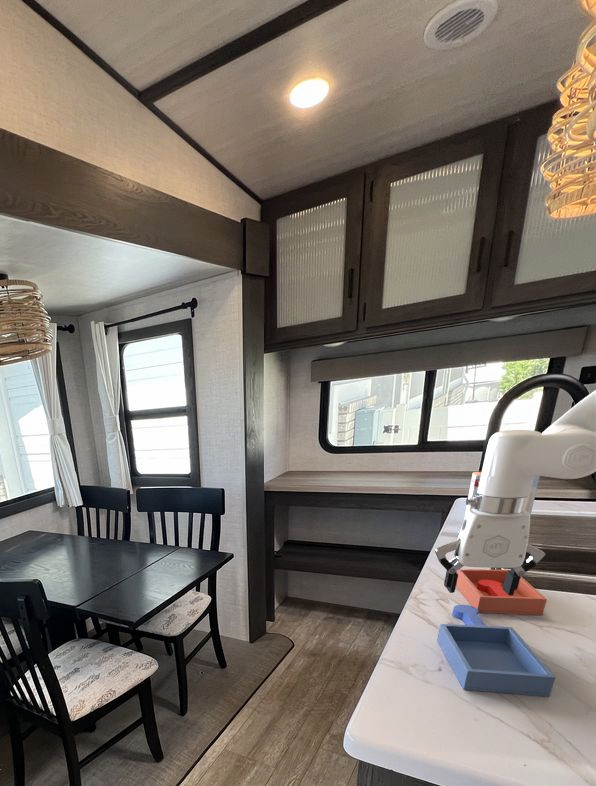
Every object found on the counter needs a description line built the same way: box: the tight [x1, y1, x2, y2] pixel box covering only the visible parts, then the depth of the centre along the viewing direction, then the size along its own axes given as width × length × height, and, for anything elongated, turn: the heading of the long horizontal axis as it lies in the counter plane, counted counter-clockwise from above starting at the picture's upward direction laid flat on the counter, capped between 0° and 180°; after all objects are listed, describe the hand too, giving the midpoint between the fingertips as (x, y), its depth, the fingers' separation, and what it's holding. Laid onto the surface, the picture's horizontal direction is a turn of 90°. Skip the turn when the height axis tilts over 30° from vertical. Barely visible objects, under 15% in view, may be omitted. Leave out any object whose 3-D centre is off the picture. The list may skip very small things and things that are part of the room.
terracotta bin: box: [456, 568, 548, 616], centre depth 103 cm, size 12×17×4 cm
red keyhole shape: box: [477, 580, 510, 597], centre depth 104 cm, size 11×4×2 cm, turn 163°
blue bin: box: [436, 623, 556, 698], centre depth 80 cm, size 12×17×4 cm
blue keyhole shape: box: [451, 604, 487, 626], centre depth 95 cm, size 11×4×2 cm, turn 163°
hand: (478, 591), depth 90 cm, fingers open, 9 cm apart
